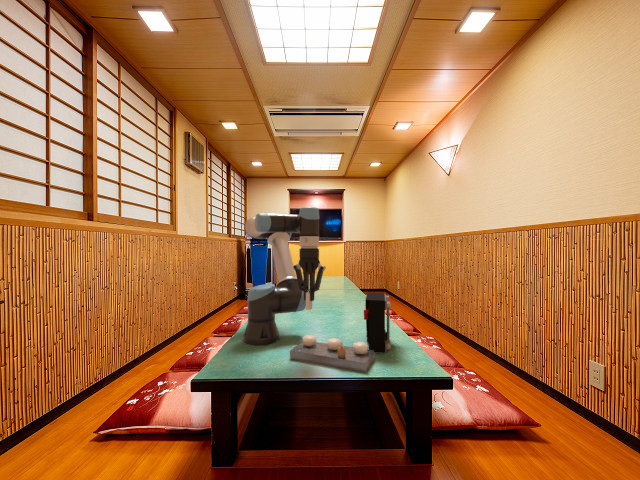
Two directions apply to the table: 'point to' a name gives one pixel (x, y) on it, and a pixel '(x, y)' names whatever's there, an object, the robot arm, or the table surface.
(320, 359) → the plate
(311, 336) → the knob
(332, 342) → the knob mid
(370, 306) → the electrical component
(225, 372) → the table surface
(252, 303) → the robot arm
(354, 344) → the knob outer
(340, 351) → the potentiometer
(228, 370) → the table surface
